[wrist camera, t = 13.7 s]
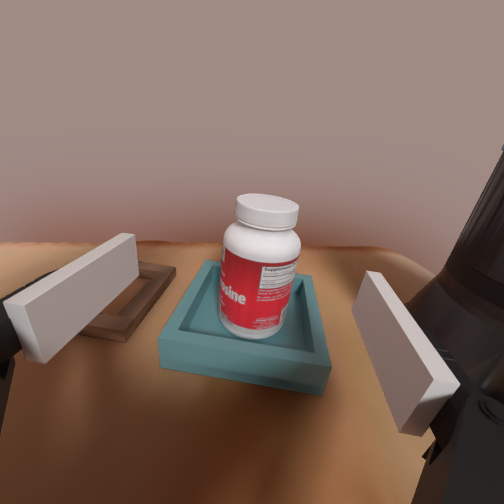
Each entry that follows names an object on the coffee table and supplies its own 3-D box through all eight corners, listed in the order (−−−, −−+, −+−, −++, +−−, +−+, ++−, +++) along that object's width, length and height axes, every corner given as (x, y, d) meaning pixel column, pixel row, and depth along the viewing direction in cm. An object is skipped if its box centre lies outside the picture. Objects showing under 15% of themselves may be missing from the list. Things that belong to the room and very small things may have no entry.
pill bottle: (210, 301, 24) (216, 189, 19) (266, 293, 26) (283, 192, 22) (229, 350, 19) (243, 214, 14) (295, 334, 21) (327, 214, 17)
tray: (305, 297, 28) (311, 275, 27) (321, 395, 18) (331, 367, 16) (205, 281, 29) (205, 259, 28) (160, 367, 18) (158, 337, 17)
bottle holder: (175, 275, 29) (175, 267, 29) (125, 342, 20) (123, 331, 19) (91, 262, 30) (90, 253, 29) (3, 321, 20) (-2, 309, 20)
